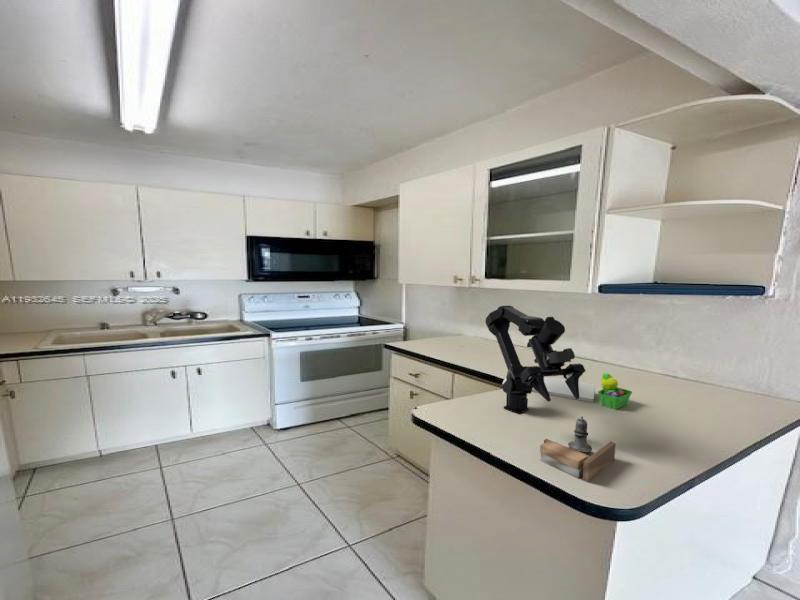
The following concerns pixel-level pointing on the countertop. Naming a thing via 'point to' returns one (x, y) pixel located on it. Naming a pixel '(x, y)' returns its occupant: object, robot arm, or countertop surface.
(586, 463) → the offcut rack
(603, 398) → the fruit basket
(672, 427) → the countertop surface
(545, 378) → the decorative molding
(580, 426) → the grey rounded upright piece
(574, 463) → the teak offcut
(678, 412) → the countertop surface
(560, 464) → the grey mdf offcut
